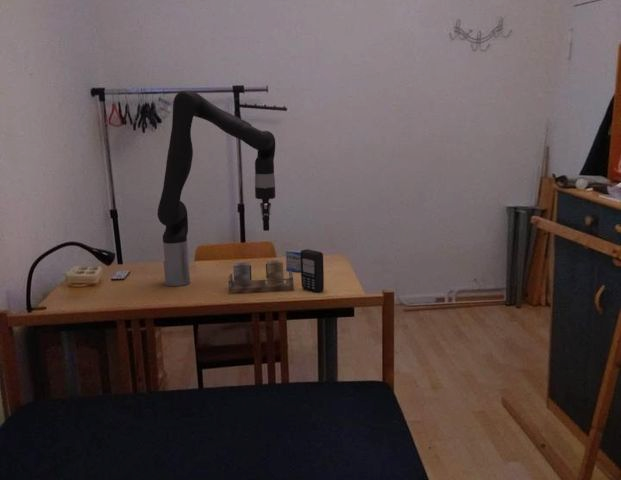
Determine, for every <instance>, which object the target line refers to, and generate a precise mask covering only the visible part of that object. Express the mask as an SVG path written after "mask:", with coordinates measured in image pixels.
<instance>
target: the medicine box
mask: <svg viewBox="0 0 621 480" xmlns="http://www.w3.org/2000/svg"><path fill="white" fill-rule="evenodd" d="M302 250H303V249H302ZM302 250H301V249H287V250H286V251H285V261H286V262H285V264H286V265H285V267H286V268H285V269H286V271H287V272H289V271H292V273H293V272H294V273H301V259H300V252H301V251H302Z"/></svg>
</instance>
